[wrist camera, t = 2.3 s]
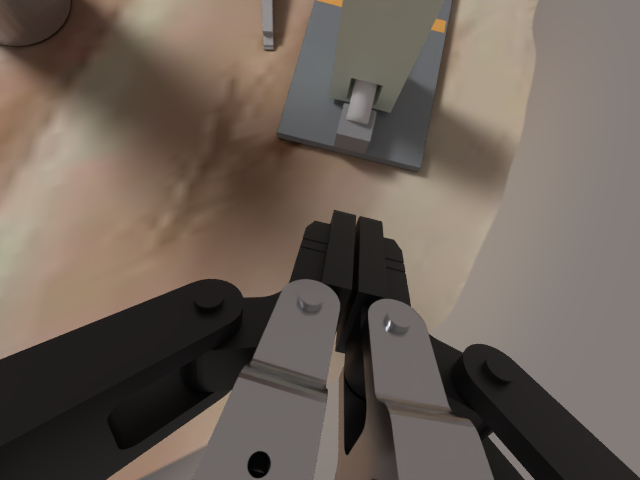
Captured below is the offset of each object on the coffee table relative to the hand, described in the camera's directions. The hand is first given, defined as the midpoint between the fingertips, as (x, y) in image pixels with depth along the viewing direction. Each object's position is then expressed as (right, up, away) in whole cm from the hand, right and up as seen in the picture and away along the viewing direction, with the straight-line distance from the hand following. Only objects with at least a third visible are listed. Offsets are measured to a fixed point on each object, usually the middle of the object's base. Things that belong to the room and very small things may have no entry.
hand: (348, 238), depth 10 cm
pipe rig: (+5, +20, +22) cm, 30 cm away
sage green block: (+3, +15, +19) cm, 25 cm away
